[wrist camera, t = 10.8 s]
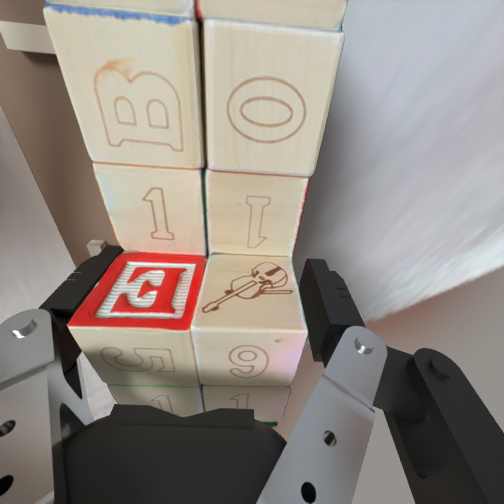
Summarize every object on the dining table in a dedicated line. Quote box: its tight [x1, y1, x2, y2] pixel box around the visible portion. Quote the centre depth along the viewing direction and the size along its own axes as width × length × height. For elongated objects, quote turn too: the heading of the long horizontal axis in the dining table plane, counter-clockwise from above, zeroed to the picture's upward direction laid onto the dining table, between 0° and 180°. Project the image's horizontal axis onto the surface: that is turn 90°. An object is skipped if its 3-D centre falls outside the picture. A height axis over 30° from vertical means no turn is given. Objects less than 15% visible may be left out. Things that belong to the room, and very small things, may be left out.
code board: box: [0, 0, 121, 268], centre depth 16 cm, size 18×24×1 cm
